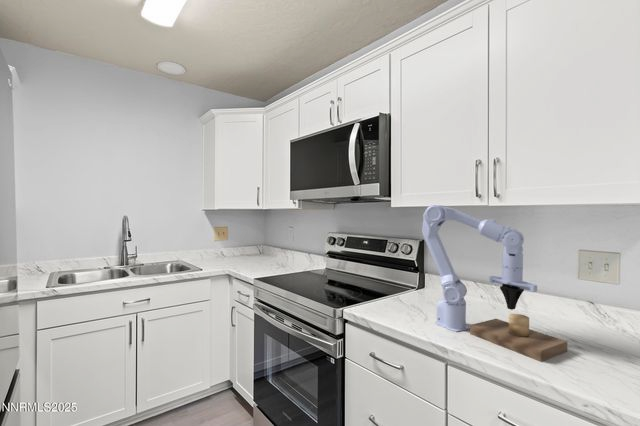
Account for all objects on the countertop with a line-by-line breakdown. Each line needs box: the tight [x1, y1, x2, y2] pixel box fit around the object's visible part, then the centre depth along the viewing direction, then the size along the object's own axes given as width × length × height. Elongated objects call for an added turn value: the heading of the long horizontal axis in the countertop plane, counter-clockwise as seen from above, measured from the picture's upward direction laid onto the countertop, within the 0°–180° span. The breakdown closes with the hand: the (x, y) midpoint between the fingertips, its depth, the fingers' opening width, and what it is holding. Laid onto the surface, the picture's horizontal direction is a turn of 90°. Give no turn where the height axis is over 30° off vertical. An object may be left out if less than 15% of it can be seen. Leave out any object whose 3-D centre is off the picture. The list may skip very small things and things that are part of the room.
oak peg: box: [508, 313, 530, 337], centre depth 100 cm, size 6×6×8 cm
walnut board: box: [469, 318, 568, 362], centre depth 101 cm, size 22×14×3 cm, turn 28°
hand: (511, 308), depth 104 cm, fingers closed
